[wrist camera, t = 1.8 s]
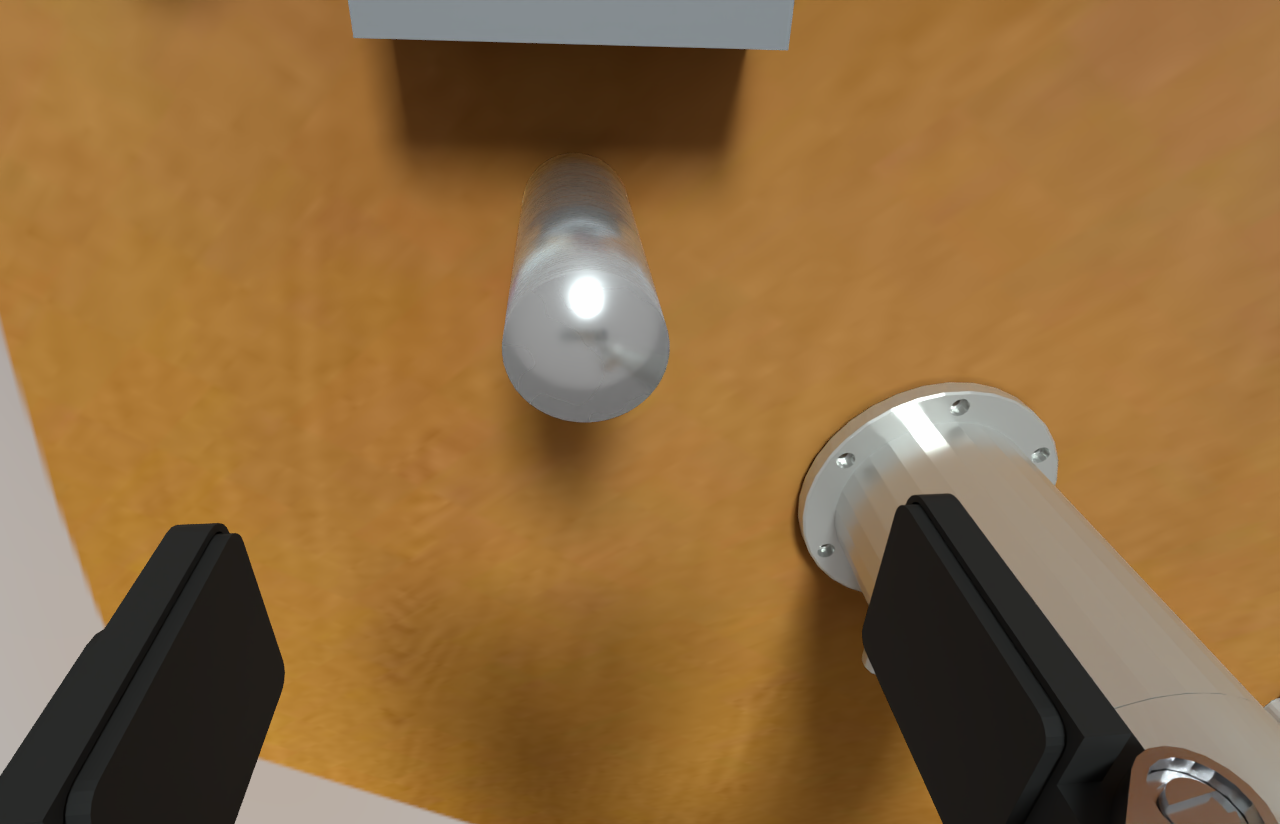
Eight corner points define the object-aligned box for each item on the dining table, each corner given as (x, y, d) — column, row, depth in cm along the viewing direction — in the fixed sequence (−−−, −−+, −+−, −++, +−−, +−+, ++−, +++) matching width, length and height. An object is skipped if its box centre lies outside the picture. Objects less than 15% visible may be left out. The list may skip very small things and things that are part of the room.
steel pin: (627, 258, 29) (664, 420, 19) (524, 258, 29) (507, 423, 18) (630, 153, 27) (674, 272, 17) (519, 151, 27) (496, 272, 16)
